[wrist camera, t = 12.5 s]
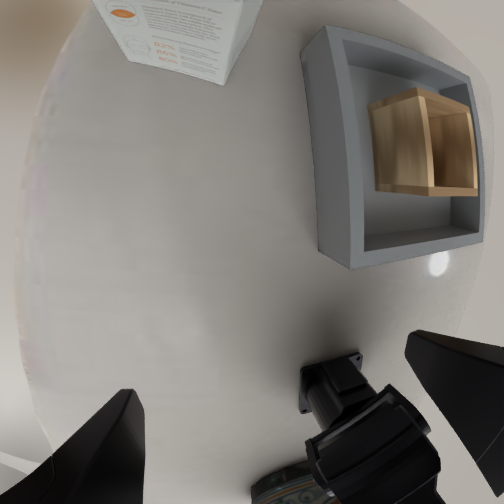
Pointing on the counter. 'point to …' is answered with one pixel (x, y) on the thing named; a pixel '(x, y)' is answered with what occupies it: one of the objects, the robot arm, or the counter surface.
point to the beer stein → (290, 488)
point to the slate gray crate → (361, 154)
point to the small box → (182, 33)
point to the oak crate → (423, 145)
